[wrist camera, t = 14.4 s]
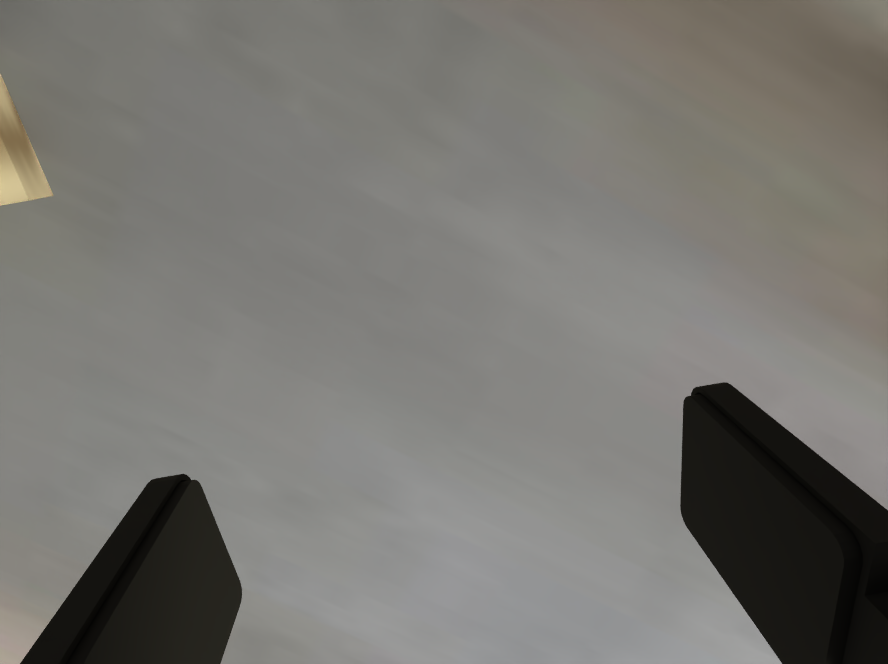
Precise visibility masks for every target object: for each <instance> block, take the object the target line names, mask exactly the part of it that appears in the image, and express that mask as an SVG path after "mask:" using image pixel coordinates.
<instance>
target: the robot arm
mask: <svg viewBox="0 0 888 664" xmlns="http://www.w3.org/2000/svg"><path fill="white" fill-rule="evenodd" d="M680 506H681V514H682V517H683V520H684V522H685V525H686V526H687V528H688V529H689V531H690V532H691V534H692V535H693V537H694V538H695V539H696V541H697V542H698V544H699V545H700V547H701V548H702V549H703V551H704V552H705V554H706V555H707V557H708V558H709V559H710V561H711V562H712V564H713V565H714V567H715V568H716V569H717V571H718V572H719V574H720V575H721V577H722V578H723V579H724V581H725V582H726V584H727V585H728V587H729V588H730V589H731V591H732V592H733V594H734V595H735V597H736V598H737V599H738V601H739V602H740V604H741V605H742V607H743V608H744V609H745V611H746V612H747V614H748V615H749V617H750V618H751V619H752V621H753V622H754V624H755V625H756V627H757V628H758V629H759V631H760V632H761V634H762V635H763V637H764V638H765V639H766V641H767V642H768V644H769V645H770V647H771V648H772V649H773V651H774V652H775V654H776V655H777V657H778V658H779V659H780V661H781V662H782V664H888V510H887V509H885V508H884V507H883V506H882V505H880V504H879V503H878V502H877V501H875V500H874V499H873V498H872V497H870V496H869V495H868V494H867V493H865V492H864V491H863V490H862V489H860V488H859V487H858V486H857V485H855V484H854V483H853V482H852V481H850V480H849V479H848V478H847V477H845V476H844V475H843V474H842V473H840V472H839V471H838V470H837V469H835V468H834V467H833V466H832V465H830V464H829V463H828V462H827V461H825V460H824V459H823V458H822V457H820V456H819V455H818V454H817V453H815V452H814V451H813V450H812V449H810V448H809V447H808V446H807V445H805V444H804V443H803V442H802V441H800V440H799V439H798V438H797V437H795V436H794V435H793V434H792V433H790V432H789V431H788V430H787V429H785V428H784V427H783V426H782V425H780V424H779V423H778V422H777V421H775V420H774V419H773V418H772V417H770V416H769V415H768V414H767V413H765V412H764V411H763V410H762V409H761V408H759V407H758V406H757V405H756V404H754V403H753V402H752V401H751V400H749V399H748V398H747V397H746V396H744V395H743V394H742V393H741V392H739V391H738V390H737V389H736V388H734V387H733V386H732V385H730V384H728V383H718V384H712V385H706V386H700V387H696V388H694V389H693V391H692V393H691V396H687V397H686V398H685V400H684V404H683V437H682V471H681V505H680ZM241 598H242V588H241V583H240V580H239V578H238V575H237V573H236V570H235V568H234V565H233V563H232V561H231V558H230V556H229V553H228V551H227V548H226V546H225V543H224V541H223V538H222V536H221V533H220V531H219V528H218V526H217V524H216V521H215V519H214V516H213V514H212V511H211V509H210V506H209V504H208V501H207V499H206V496H205V494H204V492H203V489H202V487H201V485H200V483H199V482H198V481H197V480H191V479H190V477H188V476H187V475H185V474H180V475H174V476H168V477H162V478H156V479H153V480H151V481H150V482H149V483H148V484H147V485H146V487H145V488H144V489H143V491H142V492H141V494H140V495H139V497H138V498H137V499H136V501H135V502H134V504H133V505H132V506H131V508H130V509H129V511H128V512H127V513H126V515H125V516H124V518H123V519H122V521H121V522H120V523H119V525H118V526H117V528H116V529H115V530H114V532H113V533H112V535H111V536H110V537H109V539H108V540H107V542H106V543H105V545H104V546H103V547H102V549H101V550H100V552H99V553H98V554H97V556H96V557H95V559H94V560H93V561H92V563H91V564H90V566H89V567H88V569H87V570H86V571H85V573H84V574H83V576H82V577H81V578H80V580H79V581H78V583H77V584H76V585H75V587H74V588H73V590H72V591H71V593H70V594H69V595H68V597H67V598H66V600H65V601H64V602H63V604H62V605H61V607H60V608H59V609H58V611H57V612H56V614H55V615H54V617H53V618H52V619H51V621H50V622H49V624H48V625H47V626H46V628H45V629H44V631H43V632H42V633H41V635H40V636H39V638H38V639H37V641H36V642H35V643H34V645H33V646H32V648H31V649H30V650H29V652H28V653H27V655H26V656H25V657H24V659H23V660H22V662H21V663H20V664H220V663H221V660H222V657H223V654H224V651H225V648H226V645H227V642H228V639H229V636H230V633H231V630H232V627H233V625H234V622H235V619H236V616H237V613H238V610H239V607H240V603H241Z"/></svg>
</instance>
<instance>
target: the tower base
mask: <svg viewBox="0 0 888 664" xmlns="http://www.w3.org/2000/svg"><path fill="white" fill-rule="evenodd" d="M49 196H53V194H52V191H51V189H50V187H49V184H48V182H47V180H46V177H45V175H44V173H43V171H42V168H41V166H40V164H39V161H38V159H37V157H36V154H35V152H34V150H33V148H32V145H31V143H30V141H29V138H28V136H27V134H26V132H25V129H24V127H23V125H22V122H21V120H20V118H19V115H18V113H17V111H16V109H15V106H14V104H13V102H12V99H11V97H10V95H9V92H8V90H7V88H6V86H5V83H4V81H3V79H2V76H1V74H0V205H6V204H11V203H17V202H23V201H29V200H34V199H39V198H44V197H49Z"/></svg>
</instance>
